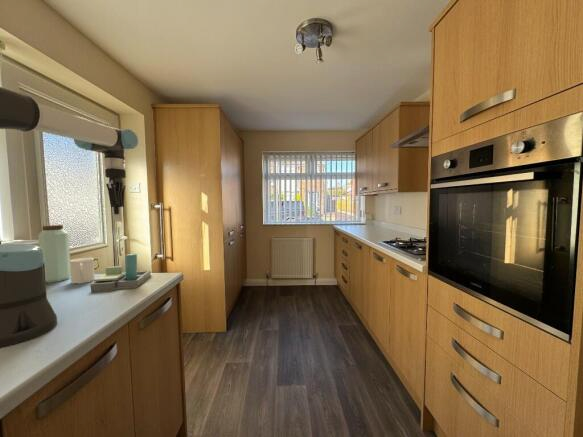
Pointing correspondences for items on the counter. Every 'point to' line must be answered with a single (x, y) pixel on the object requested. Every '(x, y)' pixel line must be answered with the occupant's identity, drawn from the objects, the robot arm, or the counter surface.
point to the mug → (82, 270)
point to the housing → (120, 283)
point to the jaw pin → (131, 267)
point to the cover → (111, 274)
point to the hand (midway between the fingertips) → (118, 221)
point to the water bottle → (55, 252)
